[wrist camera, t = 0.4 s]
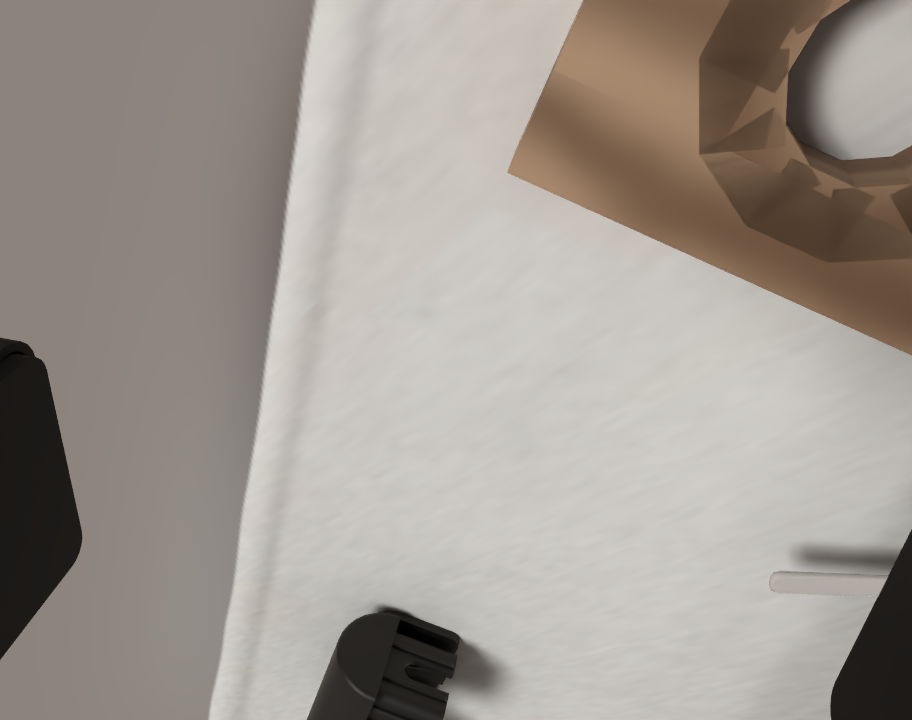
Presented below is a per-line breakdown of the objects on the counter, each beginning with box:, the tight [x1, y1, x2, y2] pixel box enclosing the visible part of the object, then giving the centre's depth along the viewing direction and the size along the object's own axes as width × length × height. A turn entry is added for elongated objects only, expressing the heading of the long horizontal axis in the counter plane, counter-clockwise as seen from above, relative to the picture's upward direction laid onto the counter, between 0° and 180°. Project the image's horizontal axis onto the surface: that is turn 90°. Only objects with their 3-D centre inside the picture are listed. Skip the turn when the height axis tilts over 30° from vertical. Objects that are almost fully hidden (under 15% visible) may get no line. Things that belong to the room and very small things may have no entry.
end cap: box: [307, 611, 459, 720], centre depth 53 cm, size 10×7×7 cm
